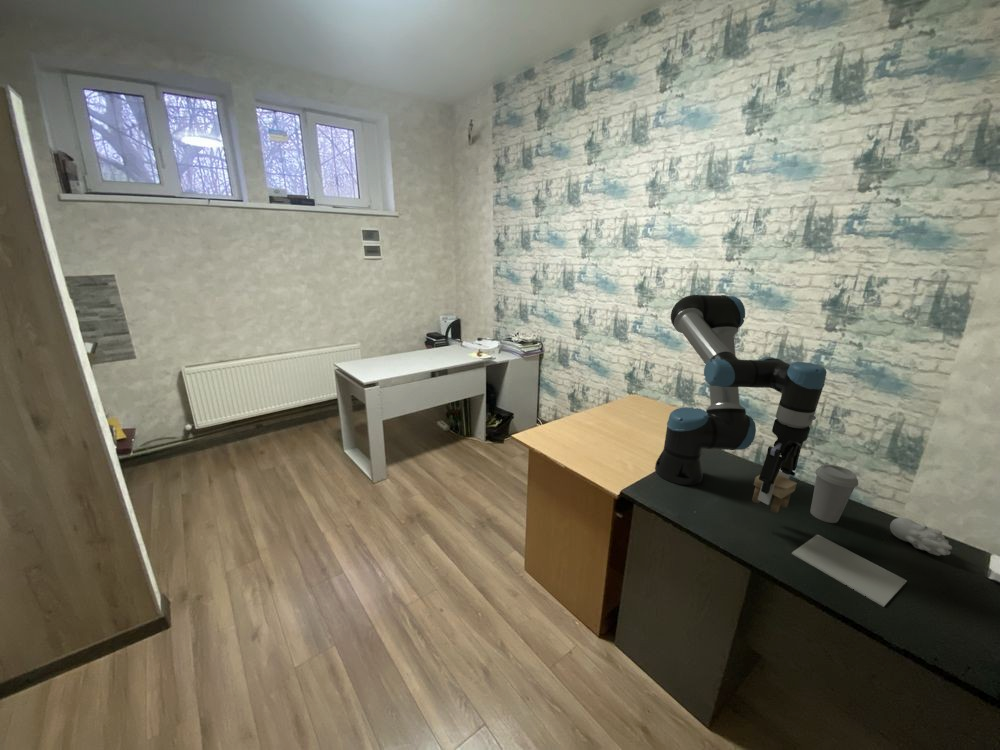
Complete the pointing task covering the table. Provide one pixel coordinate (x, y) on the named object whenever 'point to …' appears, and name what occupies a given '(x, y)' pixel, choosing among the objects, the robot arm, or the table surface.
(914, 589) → the table surface
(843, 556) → the mat
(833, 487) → the coffee cup
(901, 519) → the figurine
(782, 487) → the wooden stool
